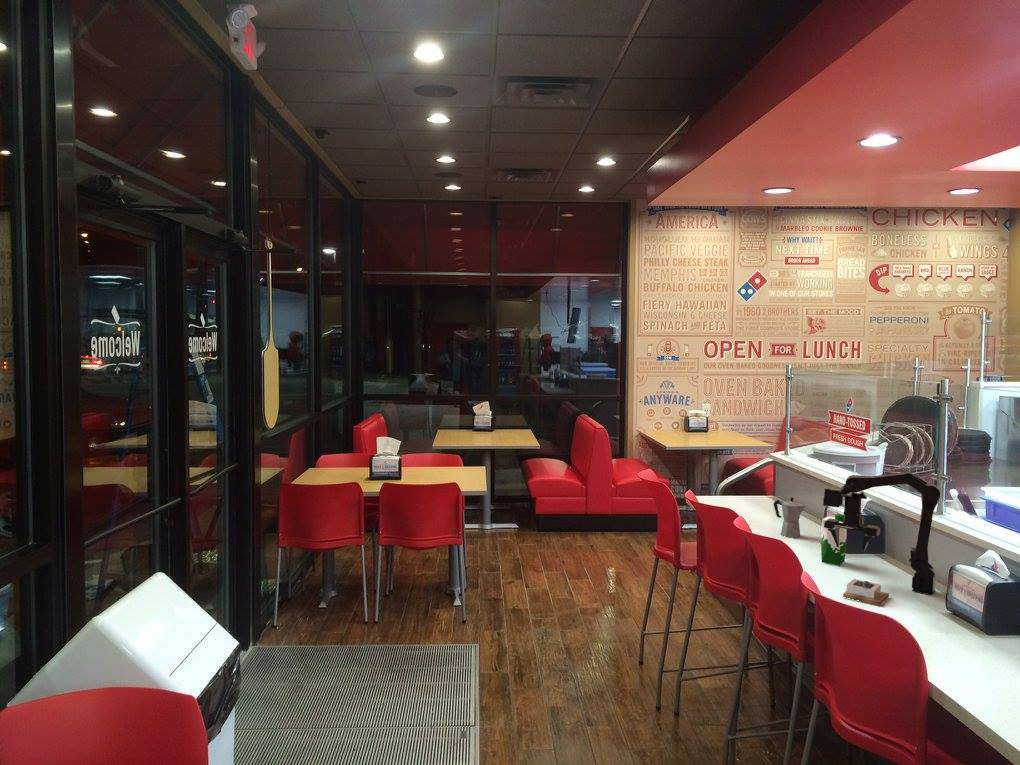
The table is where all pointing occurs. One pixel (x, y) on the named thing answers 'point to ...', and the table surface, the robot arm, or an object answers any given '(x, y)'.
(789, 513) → the coffeepot
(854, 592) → the white square frame
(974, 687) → the table surface
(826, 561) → the milk carton
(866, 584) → the board
